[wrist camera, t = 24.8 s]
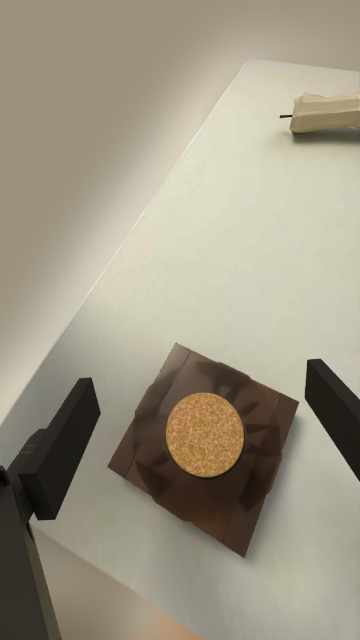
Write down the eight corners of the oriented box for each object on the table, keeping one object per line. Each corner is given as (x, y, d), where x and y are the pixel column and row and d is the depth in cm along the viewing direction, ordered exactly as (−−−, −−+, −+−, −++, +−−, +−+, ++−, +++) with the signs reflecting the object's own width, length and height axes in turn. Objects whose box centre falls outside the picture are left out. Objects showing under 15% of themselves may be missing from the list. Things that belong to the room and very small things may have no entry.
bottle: (227, 471, 28) (248, 501, 15) (173, 458, 29) (145, 474, 16) (234, 413, 30) (258, 392, 17) (184, 403, 31) (168, 375, 18)
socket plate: (116, 464, 29) (103, 467, 26) (178, 350, 34) (174, 340, 30) (240, 545, 26) (245, 563, 22) (290, 405, 30) (302, 400, 27)
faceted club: (440, 146, 43) (276, 152, 48) (419, 129, 48) (274, 136, 53) (482, 72, 36) (287, 87, 41) (453, 62, 42) (283, 76, 46)
